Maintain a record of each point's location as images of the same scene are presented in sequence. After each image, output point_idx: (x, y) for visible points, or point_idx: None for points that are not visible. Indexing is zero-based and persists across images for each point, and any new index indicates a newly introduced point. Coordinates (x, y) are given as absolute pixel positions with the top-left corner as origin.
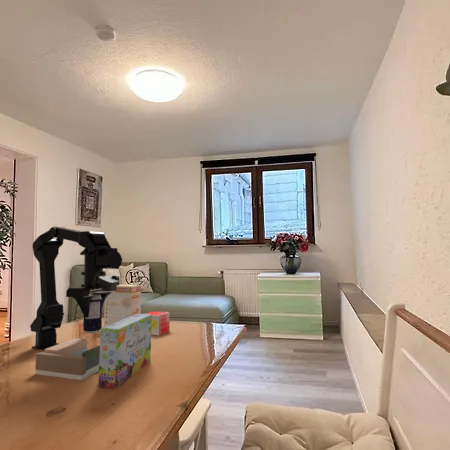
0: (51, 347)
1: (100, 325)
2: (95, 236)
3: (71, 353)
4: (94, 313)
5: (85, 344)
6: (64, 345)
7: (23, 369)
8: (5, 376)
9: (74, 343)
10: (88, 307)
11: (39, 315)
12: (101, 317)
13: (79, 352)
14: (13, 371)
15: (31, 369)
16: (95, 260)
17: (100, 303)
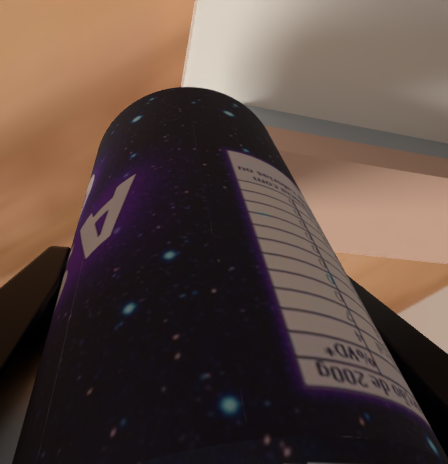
0: (442, 254)
1: (195, 102)
2: None
3: (388, 148)
4: (320, 234)
5: (273, 135)
6: (415, 211)
7: (371, 283)
8: (436, 289)
9: (376, 176)
10: (434, 366)
11: None
12: (168, 146)
13: (317, 130)
14: (388, 299)
15: (376, 259)
16: None
17: (264, 321)
